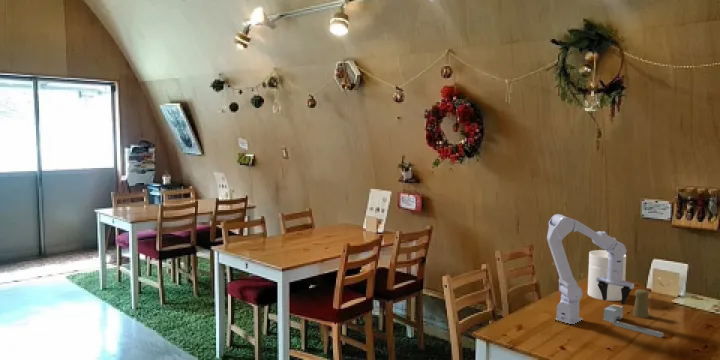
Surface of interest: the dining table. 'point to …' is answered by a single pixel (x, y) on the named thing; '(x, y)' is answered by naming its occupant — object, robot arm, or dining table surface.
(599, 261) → the canister
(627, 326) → the rail
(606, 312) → the block
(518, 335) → the dining table surface
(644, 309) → the cork
